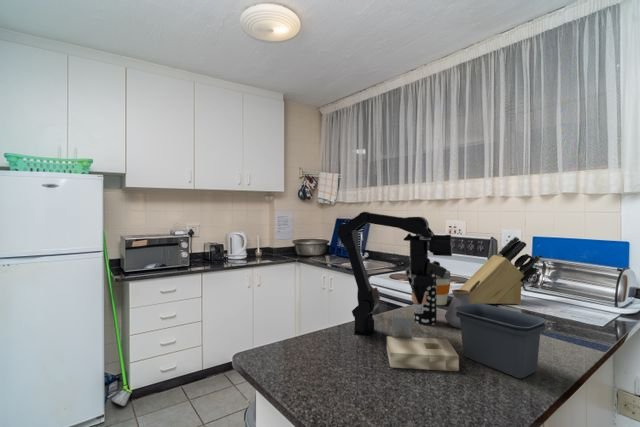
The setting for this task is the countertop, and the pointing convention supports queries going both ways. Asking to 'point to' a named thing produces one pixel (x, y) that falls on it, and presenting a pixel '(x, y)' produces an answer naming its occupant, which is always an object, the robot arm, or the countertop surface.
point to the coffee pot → (458, 300)
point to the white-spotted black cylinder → (429, 306)
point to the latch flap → (401, 327)
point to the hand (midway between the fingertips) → (418, 301)
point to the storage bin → (501, 338)
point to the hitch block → (422, 354)
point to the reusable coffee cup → (443, 288)
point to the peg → (418, 307)
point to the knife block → (502, 276)
